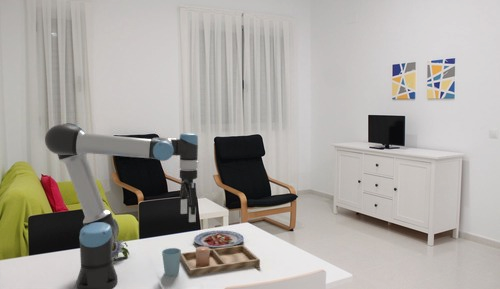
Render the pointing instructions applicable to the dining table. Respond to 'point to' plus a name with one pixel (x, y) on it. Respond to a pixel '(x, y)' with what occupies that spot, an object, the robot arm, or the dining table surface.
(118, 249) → the passion flower
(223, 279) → the dining table surface
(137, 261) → the dining table surface
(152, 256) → the dining table surface
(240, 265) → the divided wooden tray
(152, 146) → the robot arm
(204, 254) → the tan rounded piece
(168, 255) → the cup
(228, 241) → the ceramic plate
